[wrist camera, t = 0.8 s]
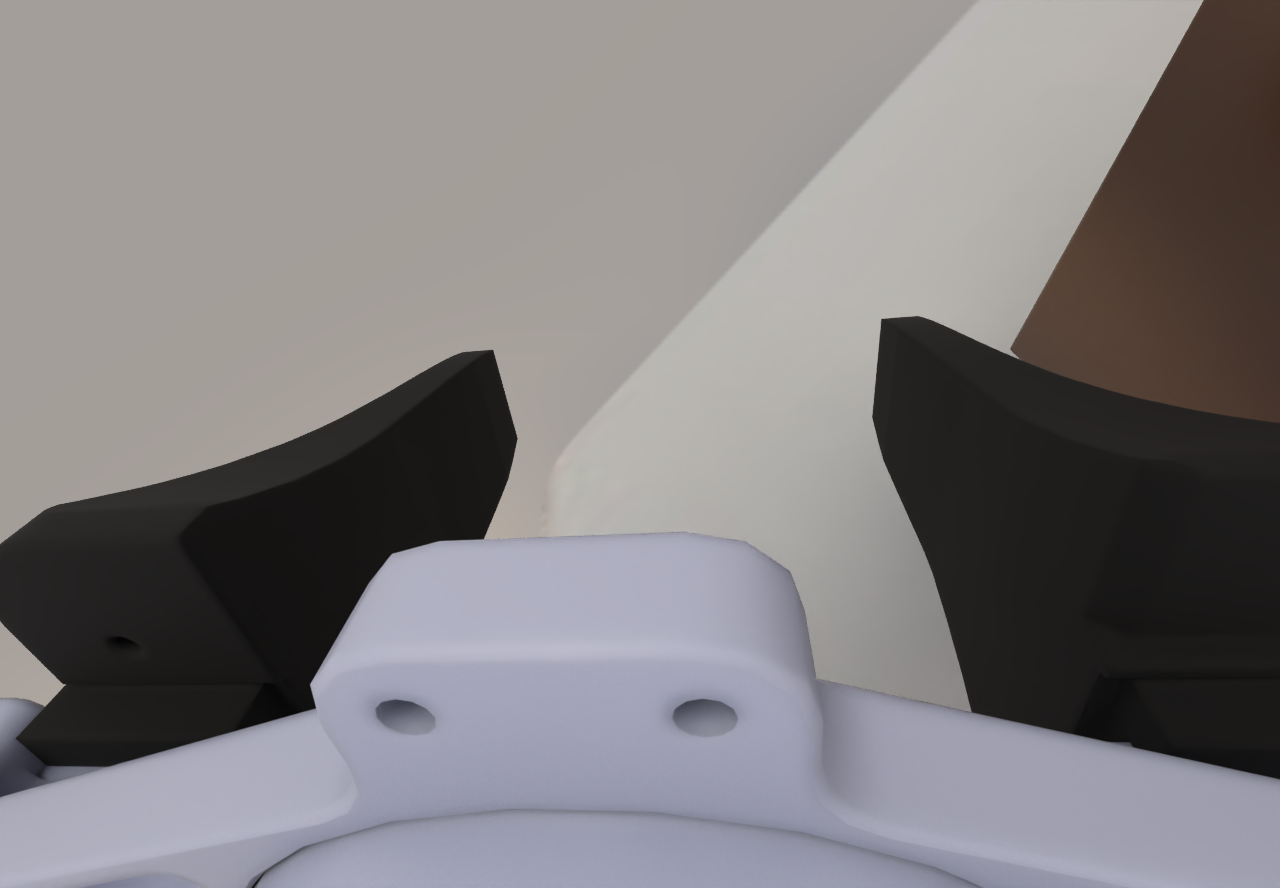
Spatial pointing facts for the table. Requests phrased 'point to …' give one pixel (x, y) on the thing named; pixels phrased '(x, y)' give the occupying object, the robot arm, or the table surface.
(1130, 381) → the lid
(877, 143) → the table surface
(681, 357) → the table surface
